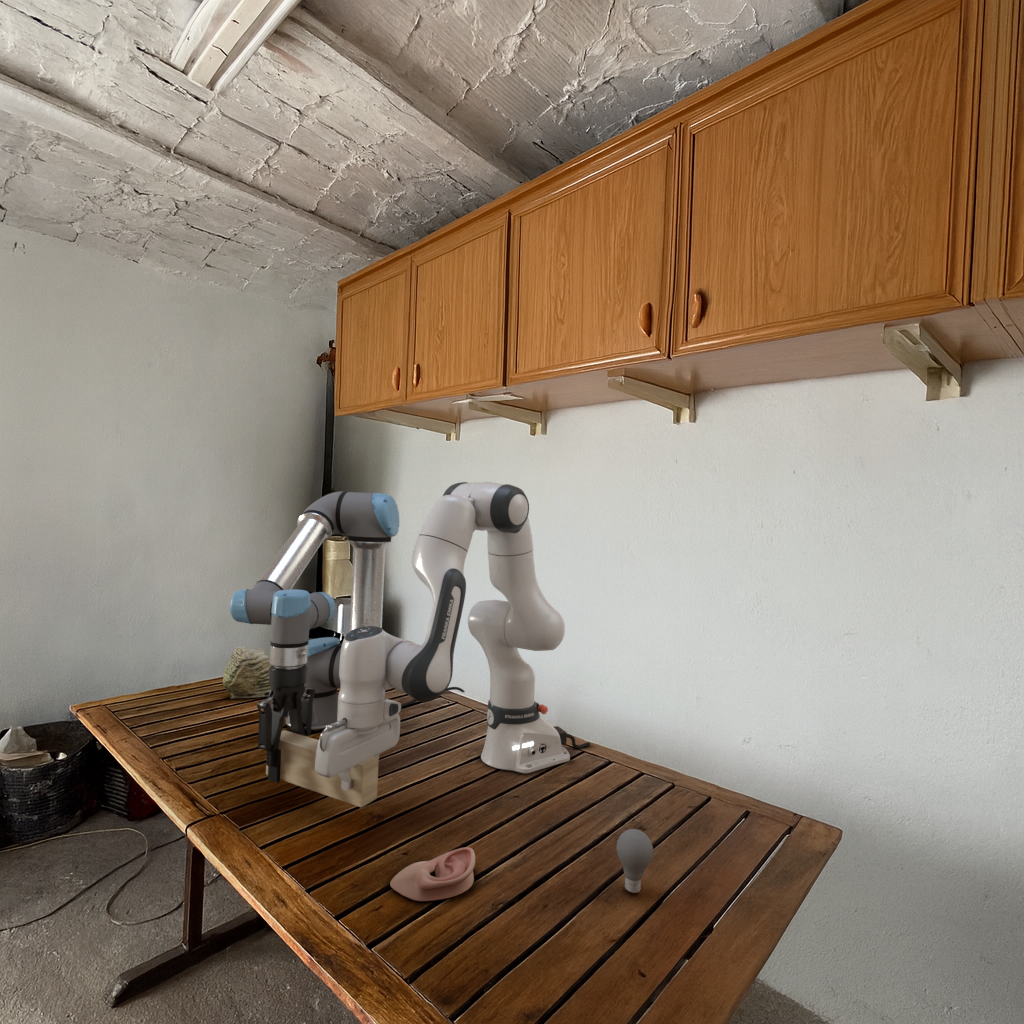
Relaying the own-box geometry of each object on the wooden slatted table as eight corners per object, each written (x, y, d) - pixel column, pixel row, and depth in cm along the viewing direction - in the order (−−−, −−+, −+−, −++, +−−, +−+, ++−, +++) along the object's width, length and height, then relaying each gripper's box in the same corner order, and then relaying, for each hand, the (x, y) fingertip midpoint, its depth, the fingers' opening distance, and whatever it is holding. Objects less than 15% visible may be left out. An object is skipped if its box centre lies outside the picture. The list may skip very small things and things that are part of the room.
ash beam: (265, 774, 132) (267, 736, 132) (282, 767, 136) (284, 729, 136) (361, 807, 119) (363, 765, 119) (377, 798, 123) (378, 757, 123)
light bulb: (610, 879, 108) (613, 822, 108) (644, 879, 109) (647, 822, 109) (619, 902, 102) (622, 840, 102) (655, 901, 103) (658, 840, 103)
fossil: (218, 695, 195) (220, 647, 195) (278, 685, 208) (279, 640, 207) (228, 703, 189) (230, 653, 188) (289, 692, 201) (290, 645, 201)
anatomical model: (383, 870, 101) (409, 834, 113) (382, 895, 101) (408, 856, 113) (463, 884, 99) (481, 845, 110) (461, 909, 99) (480, 868, 110)
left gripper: (266, 676, 123) (261, 796, 123) (332, 659, 138) (328, 766, 138) (240, 670, 126) (235, 786, 126) (307, 654, 142) (303, 758, 142)
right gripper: (334, 731, 112) (331, 809, 112) (406, 701, 130) (403, 768, 130) (308, 724, 115) (305, 799, 115) (382, 696, 133) (379, 761, 133)
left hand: (283, 775), depth 132 cm, fingers closed on ash beam, 4 cm apart
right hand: (358, 782), depth 123 cm, fingers closed on ash beam, 4 cm apart
